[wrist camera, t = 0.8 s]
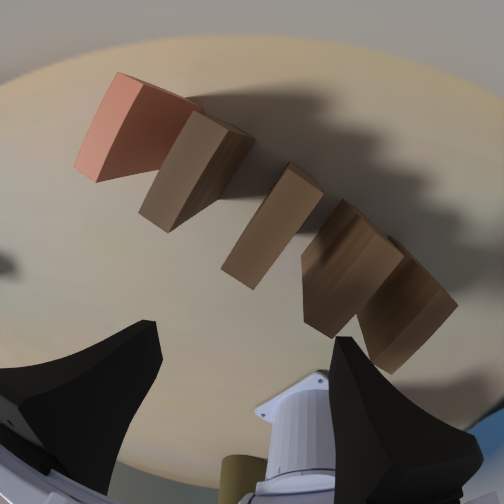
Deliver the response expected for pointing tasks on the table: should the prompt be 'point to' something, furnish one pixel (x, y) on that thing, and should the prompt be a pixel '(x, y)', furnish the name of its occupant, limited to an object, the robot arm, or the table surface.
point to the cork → (240, 477)
